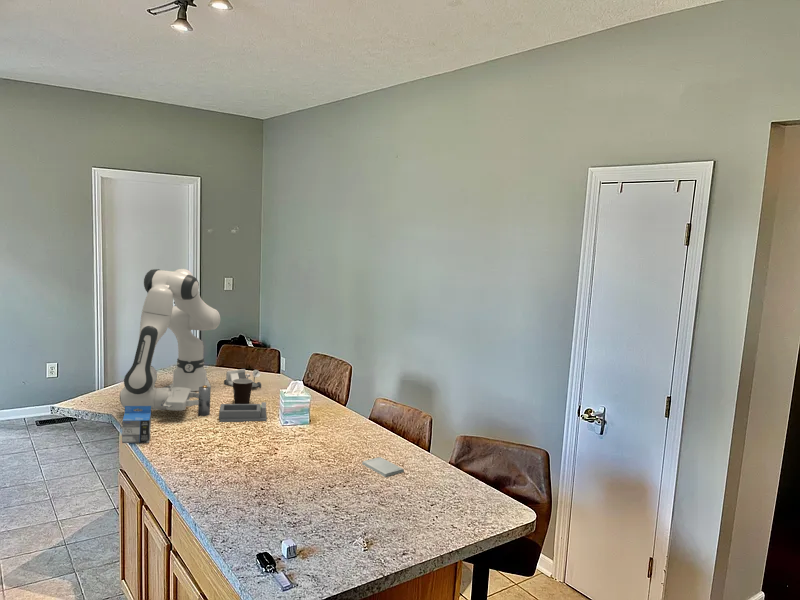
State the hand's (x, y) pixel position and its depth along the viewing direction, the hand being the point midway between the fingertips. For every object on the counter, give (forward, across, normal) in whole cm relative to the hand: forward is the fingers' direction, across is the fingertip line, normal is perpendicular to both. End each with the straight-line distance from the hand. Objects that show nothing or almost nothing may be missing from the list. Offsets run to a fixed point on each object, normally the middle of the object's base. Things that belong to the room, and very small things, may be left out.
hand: (200, 398), depth 235 cm
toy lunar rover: (+16, +43, +7) cm, 47 cm away
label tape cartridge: (-18, -30, +7) cm, 36 cm away
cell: (+2, 0, +6) cm, 7 cm away
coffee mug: (+17, +17, +7) cm, 25 cm away
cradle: (+18, -4, +6) cm, 19 cm away
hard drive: (+65, -59, +7) cm, 88 cm away
